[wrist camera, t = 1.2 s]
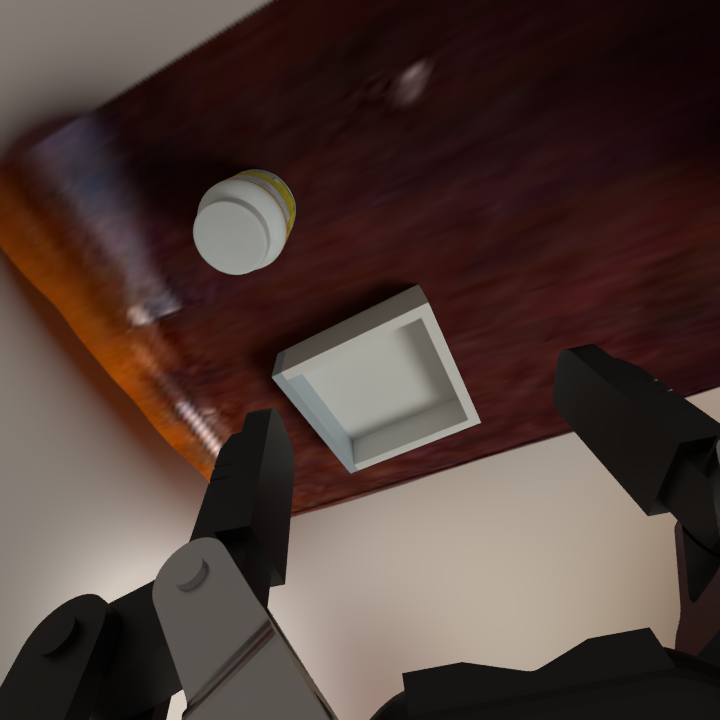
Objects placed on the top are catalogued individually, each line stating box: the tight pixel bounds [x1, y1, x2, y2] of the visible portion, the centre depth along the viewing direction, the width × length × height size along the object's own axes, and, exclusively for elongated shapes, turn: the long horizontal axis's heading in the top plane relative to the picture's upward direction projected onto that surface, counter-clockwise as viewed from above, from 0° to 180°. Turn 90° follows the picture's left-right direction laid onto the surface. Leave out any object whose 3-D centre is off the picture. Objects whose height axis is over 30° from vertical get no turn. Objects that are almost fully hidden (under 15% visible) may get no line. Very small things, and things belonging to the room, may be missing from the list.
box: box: [272, 284, 481, 473], centre depth 35 cm, size 15×15×4 cm
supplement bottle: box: [193, 169, 296, 275], centre depth 23 cm, size 5×5×10 cm
